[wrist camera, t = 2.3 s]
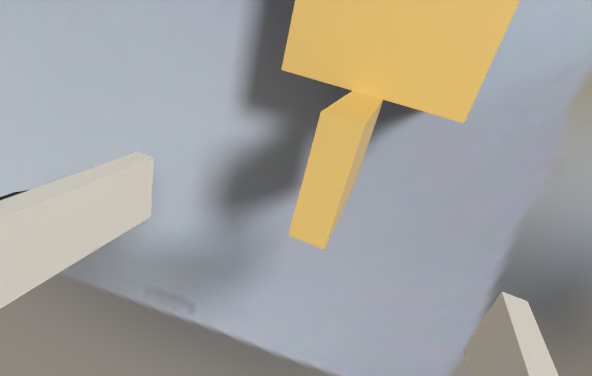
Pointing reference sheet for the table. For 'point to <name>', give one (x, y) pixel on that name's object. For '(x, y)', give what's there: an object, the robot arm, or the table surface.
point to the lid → (382, 80)
